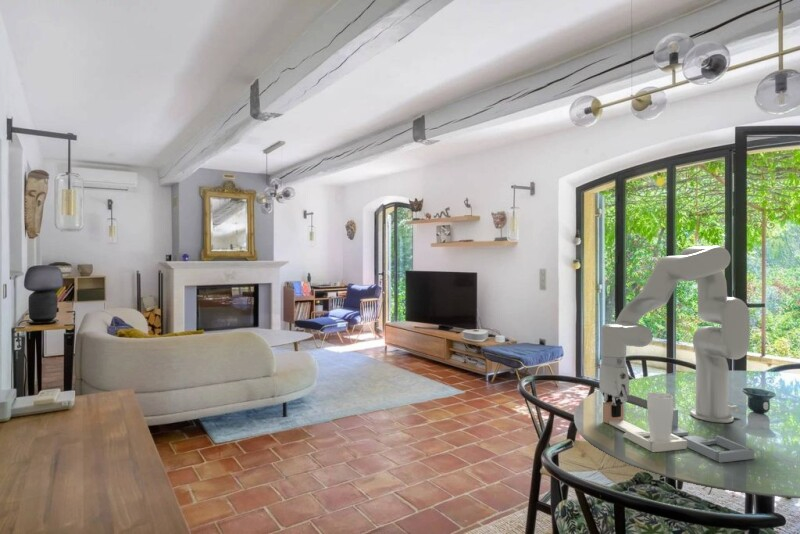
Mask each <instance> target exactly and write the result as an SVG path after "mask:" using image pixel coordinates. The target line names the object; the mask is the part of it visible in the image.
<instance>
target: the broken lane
mask: <svg viewBox="0 0 800 534" xmlns="http://www.w3.org/2000/svg"><path fill="white" fill-rule="evenodd" d="M671 434H674V435H676V436H678V437H682V439H685V440H687V449H690V450H693V451H695V452H696V453H698V454H701V455H703V456H704V457H707V458H709V459H712V460H714V461H716V462H718V463H729V462H737V461H746V460H747V461H748V460H754V459H755V449H753V448H751V447H747V446H745V445H743V444H740V443H738V442H736V441H733V440H731V439H728V438H726V437H724V436H721V435H719V434H718V435H717V434H716V435H715V438H712V439H706V438H703V437H701V436H699V435H690V434H689V431H688V430H685V429H682V428H680V427H679V409H677V408H675V407H674V408H673V420H672V430H671ZM710 445H718V446H720V447H722V448H724V449H727V450H723V451H722V450H721V451H719V450H716V449H714V448H712V447H709V446H710Z"/></svg>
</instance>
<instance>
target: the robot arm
mask: <svg viewBox="0 0 800 534" xmlns="http://www.w3.org/2000/svg"><path fill="white" fill-rule="evenodd" d="M730 263H731V254H730V252H729V250H728V249H726V248H724V246H723V247H722V246H719V245H707V246H706V245H705V246H704V245H702V246H700V245H699V246H690V247H686V248H684V249H683V250H682V251H681V252H680V255H668V256H667V255H666V256H663V257H660V259H659V260H658V261H657V263H656V264H655V266H654V268H653V270H652V272H651V273H650V276H648V279H647V280H646V283H645V285H644V287H643V289H641V292H640V293H639V294H637V295H636V296H635V297H634V298H633V299H631V300H630V301H629V302H628V303H627V304H626V305H625V306H624V307H623V308H622V309H621V311H620V312H619V314H618V317H617V318H616V319H615V322H614V323H606V324H603V325H602V326H601V332H600V333H601V337H600V338H601V339H600V340H601V341H600V342H601V347H600V348H601V349H600V351H601V352H600V353H601V354H600V355H601V359H600V368H599V381H598V382H599V392H600V393H601V394H602V396H603V401H604V402H613V405H612V417H621V405H622V403H623V404H624V403H625V402H627V401H628V400H627V397H628V396H629V395H630V379H629V378H630V377H629V371H628V368H627V366H626V364H627V363H626V362H627V361H626V357H627V355H626V353H627V351H626V349H627V348H626V347H635V348H643V347H647V346H649V345H650V344H651V342H652V341H653V337H654V336H653V335H654V334H653V332H652V330H651V329H650V328H649V327H647V326H645V325H643V324H639V323H638V322H639V321H640V320H641V319H642V318H643V317H644V316H645V315H647V314H648V313H650V312H652V311H654V310H657V309H660V308H661V307H664V306H665V305H667V303H668V302H669V300H670V299H671V296H672V295H673V293H674V290H675V289H676V287H677V285H678V283H679V282H694V281H696V283H697V314H698V317H699V318H700V319H701V320H702V321H703V322H706V323H711V324H715V325H716V324H717V325H720V327H718V326H711V325H710V326H709V325H706V326H705V325H703V326H702V327H701V326H700V327H699V328H697V329H696V330H695V332H694V333H693V335H692V344H693V349H694V354H695V355H694V356H695V408H692V409H690V413H689V414H690V416H692V417H693V418H695V419H698V420H701V421H705V422H711V423H719V424H721V423H722V424H724V423H725V424H727V423H732V422H734V420H735V419H734V418H735V417H734V415H732V414H731V413H732V412H739V410H740V407H739V406H738V405H730V404H729V375H730V374H729V370H730V369H729V364H728V360H727V359H731V360H740V359H742V358H744V357H745V356H747V354H748V353H749V352H748V351H749V349H750V335H751V333H750V332H751V331H750V328H751V327H750V322H751V321H750V320H751V317H750V311H749V307H748V305H747V304H746V303H745V302H744V301H743V299H740V298H739V297H738V298H737V297H732V296H728V286H727V285H728V284H727V280H726V275H725V274H724V273H723V271H724V270H725V269H726V268H728V266H729V265H730Z"/></svg>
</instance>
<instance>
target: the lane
mask: <svg viewBox="0 0 800 534" xmlns="http://www.w3.org/2000/svg"><path fill="white" fill-rule="evenodd" d="M612 405H613V401H612V402H605V401H604V402H602V422H604V423H606V424H607V425H608V424H609V425H611V426H613V427H614V428H616V429H618V430H621V431H622V432H624V433H623V438H625V439H627V440H628V441H631V442H633V443H635V444H636V445H639V446H640V447H642V448H644V449H646V450H647V451H650V452H652V453H658V452H668V451H679V450H687V449H688V447H687V440H685V439H683V437H681V436H676V435H674V434H671V440H668V441H658V442H652V441H650V439H648V438H647V437H650V433H649V431H646V430H644V429H642V428H640V427H638V426H636V425H634V424H633V423H630V422H628V421H626V420H624V402H623V403H622V405H621V417H612Z"/></svg>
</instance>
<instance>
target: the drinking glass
mask: <svg viewBox="0 0 800 534" xmlns="http://www.w3.org/2000/svg"><path fill="white" fill-rule="evenodd" d="M646 400H647V408H646V409H647V417H648V429H649V433H650V436H649V440H650V441H652V442H658V441H668V440H671V430H672V420H673V408H674V409H675V407H674V396H673V395H672V394H668V393H664V392H653V391H652V392H648V393H647V399H646Z"/></svg>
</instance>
